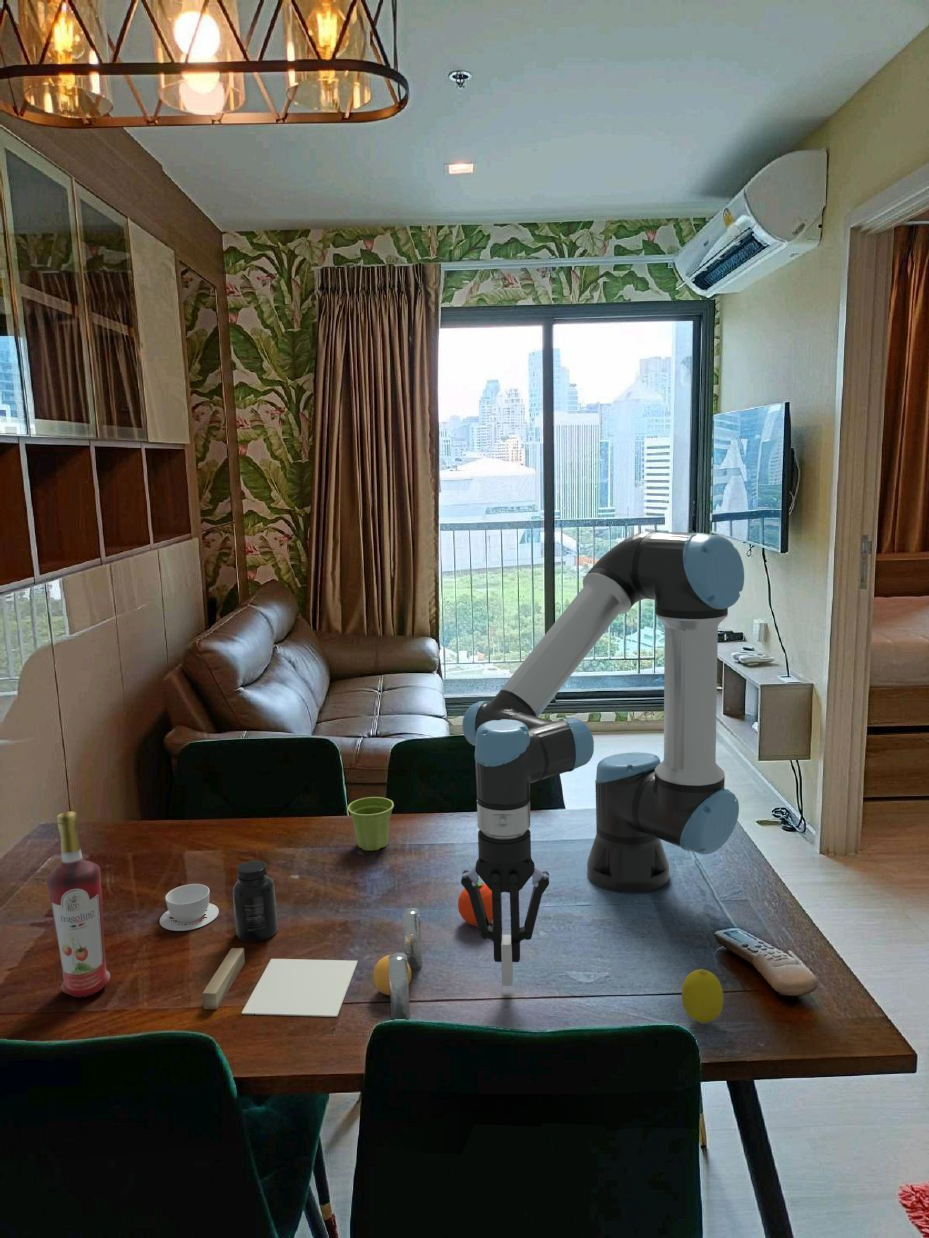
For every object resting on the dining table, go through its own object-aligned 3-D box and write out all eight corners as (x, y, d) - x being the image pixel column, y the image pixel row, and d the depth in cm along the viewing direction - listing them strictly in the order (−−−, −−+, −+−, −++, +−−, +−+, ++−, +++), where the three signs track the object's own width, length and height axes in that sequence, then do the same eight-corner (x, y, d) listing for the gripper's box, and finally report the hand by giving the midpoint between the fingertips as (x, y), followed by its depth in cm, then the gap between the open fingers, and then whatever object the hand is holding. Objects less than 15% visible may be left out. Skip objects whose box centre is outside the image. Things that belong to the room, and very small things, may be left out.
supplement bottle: (285, 925, 149) (280, 860, 147) (263, 946, 143) (258, 878, 141) (250, 920, 151) (245, 855, 149) (228, 940, 145) (222, 873, 143)
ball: (420, 969, 131) (399, 940, 131) (415, 992, 126) (393, 962, 125) (390, 986, 132) (369, 957, 132) (384, 1009, 127) (362, 980, 126)
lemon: (675, 1012, 123) (676, 960, 121) (714, 1009, 123) (715, 957, 122) (689, 1037, 117) (690, 983, 116) (729, 1034, 118) (730, 979, 116)
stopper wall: (245, 962, 138) (243, 948, 138) (217, 1008, 126) (215, 993, 126) (232, 962, 138) (231, 947, 138) (203, 1008, 127) (202, 992, 126)
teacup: (230, 910, 156) (228, 885, 155) (191, 937, 147) (189, 912, 146) (187, 900, 160) (185, 876, 159) (147, 926, 151) (144, 901, 150)
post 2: (423, 960, 137) (420, 907, 136) (420, 970, 135) (418, 916, 133) (406, 960, 137) (404, 907, 136) (404, 969, 135) (401, 916, 133)
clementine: (449, 915, 151) (448, 877, 150) (486, 906, 154) (485, 869, 152) (468, 937, 144) (467, 897, 142) (506, 927, 146) (505, 888, 145)
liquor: (59, 1008, 128) (38, 828, 123) (60, 982, 134) (40, 810, 130) (113, 995, 131) (94, 819, 126) (111, 970, 137) (93, 802, 132)
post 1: (410, 1010, 125) (408, 952, 123) (408, 1021, 122) (405, 963, 121) (392, 1009, 125) (390, 952, 123) (389, 1021, 122) (386, 962, 121)
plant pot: (393, 854, 176) (391, 813, 174) (346, 855, 176) (344, 814, 174) (397, 835, 185) (395, 796, 183) (353, 836, 185) (351, 797, 184)
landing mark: (357, 961, 138) (357, 960, 138) (337, 1016, 124) (337, 1015, 124) (271, 959, 139) (271, 958, 139) (241, 1013, 125) (241, 1012, 125)
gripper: (456, 839, 121) (461, 994, 125) (550, 840, 120) (552, 996, 124) (461, 818, 128) (465, 964, 132) (549, 818, 127) (551, 966, 131)
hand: (507, 980), depth 128 cm, fingers closed
